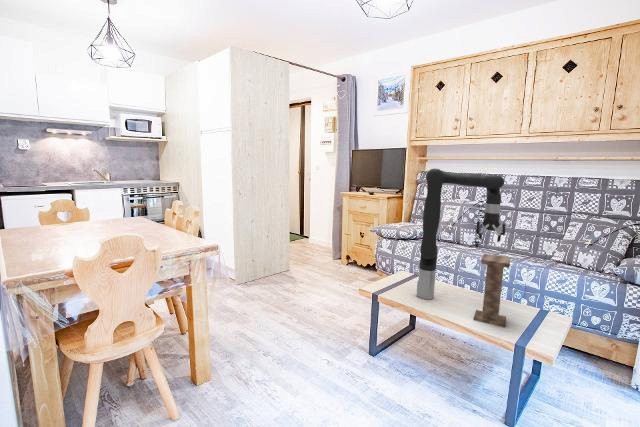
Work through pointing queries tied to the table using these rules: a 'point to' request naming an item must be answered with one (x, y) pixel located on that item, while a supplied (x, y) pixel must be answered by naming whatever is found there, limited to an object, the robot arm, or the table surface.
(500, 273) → the tall stand
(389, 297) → the table surface
